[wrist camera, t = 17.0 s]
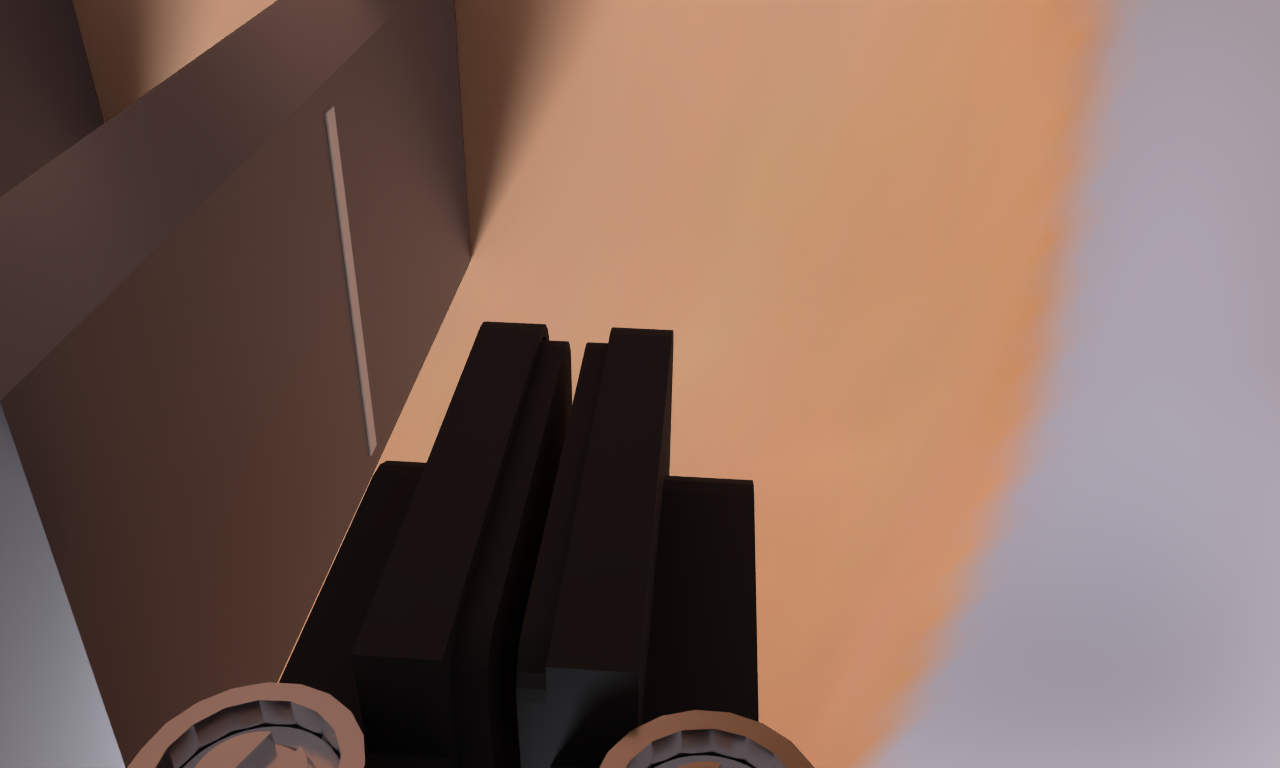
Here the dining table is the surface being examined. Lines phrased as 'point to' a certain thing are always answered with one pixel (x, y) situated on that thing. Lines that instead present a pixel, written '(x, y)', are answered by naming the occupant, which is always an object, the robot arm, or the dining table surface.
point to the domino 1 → (41, 87)
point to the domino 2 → (213, 361)
